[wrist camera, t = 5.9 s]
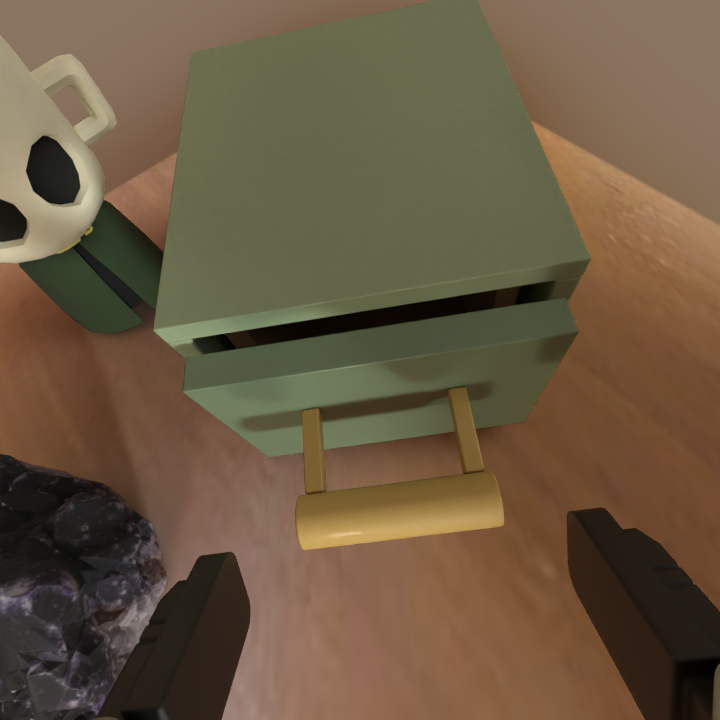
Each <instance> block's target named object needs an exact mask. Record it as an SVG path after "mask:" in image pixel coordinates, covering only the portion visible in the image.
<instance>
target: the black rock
mask: <svg viewBox="0 0 720 720" xmlns="http://www.w3.org/2000/svg"><path fill="white" fill-rule="evenodd" d="M167 580H168V577H167V574H166V572H165V570H164V562H163V555H162V553H161V551H160V549H159V544H158V543H157V542H156V533H155V530H154V527H153V525H152V523H151V522H150V521H148V520H147V519H145V518H143V517H142V516H141V515H139V514H138V513H136V512H135V511H134V510H133V508H132V507H131V506H130V505H129V504H128V503H127V502H126V501H125V500H124V499H123V498H122V497H121V496H120V495H118V494H116V493H114V492H112V490H111V488H110V487H109V486H107V485H105V484H103V483H100V482H95V481H89V480H85V479H81V478H76V477H74V476H73V475H71V474H69V473H67V472H65V471H60V470H55V469H50V468H45V467H41V466H37V465H32V464H29V463H26V462H23V461H20V460H17V459H15V458H13V457H11V456H8V455H3V454H0V720H93V719H95V717H96V716H97V714H98V712H99V710H100V709H101V707H102V705H103V703H104V701H105V699H106V698H107V696H108V694H109V692H110V690H111V689H112V687H113V685H114V683H115V681H116V680H117V678H118V676H119V674H120V672H121V671H122V669H123V667H124V665H125V663H126V661H127V660H128V658H129V656H130V654H131V652H132V651H133V649H134V647H135V645H136V644H138V643H139V638H140V636H141V634H142V632H143V631H144V629H145V627H146V625H149V620H150V618H151V616H152V614H153V613H154V611H155V609H156V606H157V603H158V599H159V597H160V595H161V594H162V593H163V591H164V590H165V588H166V584H167Z"/></svg>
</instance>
